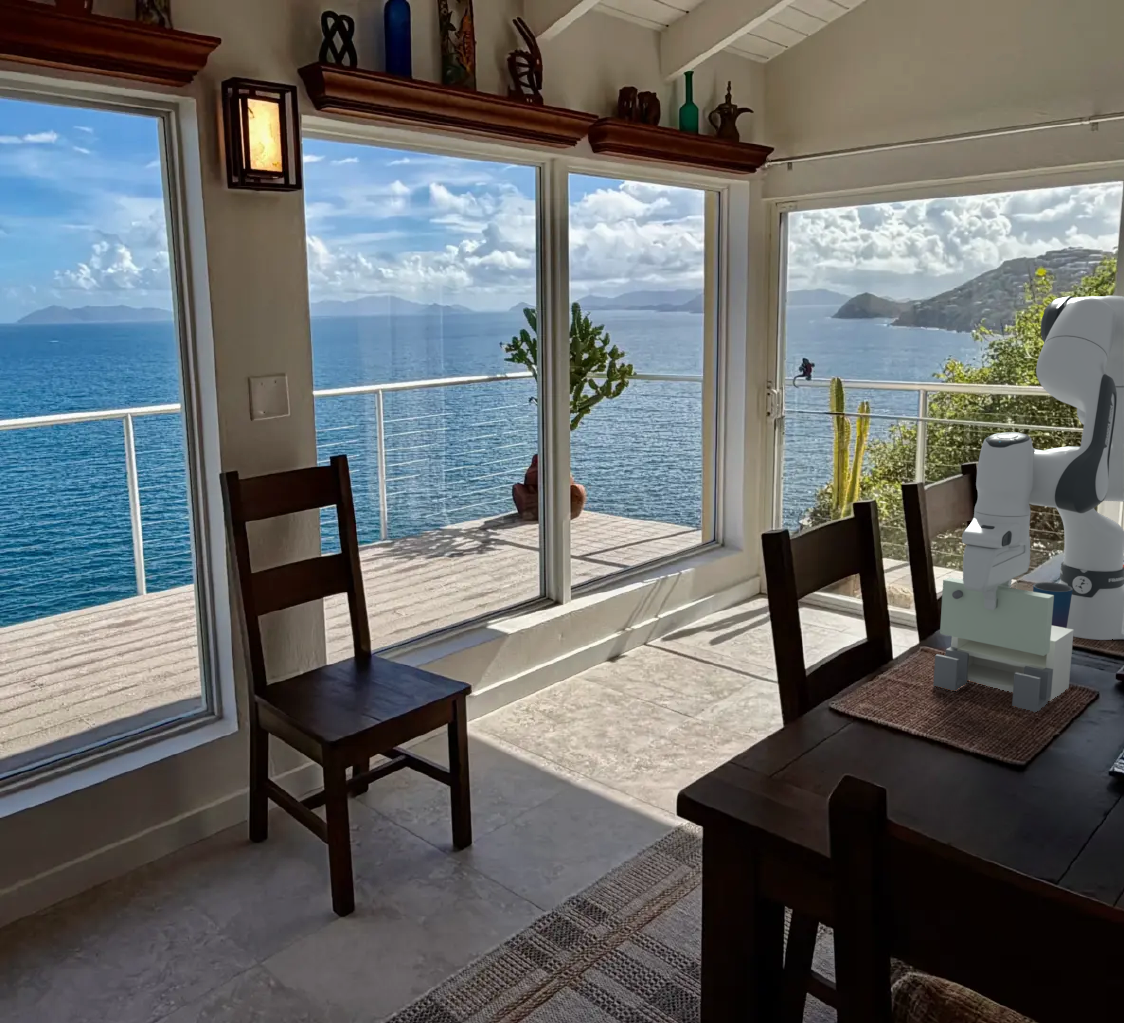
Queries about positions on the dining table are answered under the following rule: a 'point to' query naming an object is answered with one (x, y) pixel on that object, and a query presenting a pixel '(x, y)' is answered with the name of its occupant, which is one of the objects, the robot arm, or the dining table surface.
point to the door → (998, 617)
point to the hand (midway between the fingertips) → (995, 606)
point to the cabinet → (1009, 668)
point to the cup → (1057, 600)
